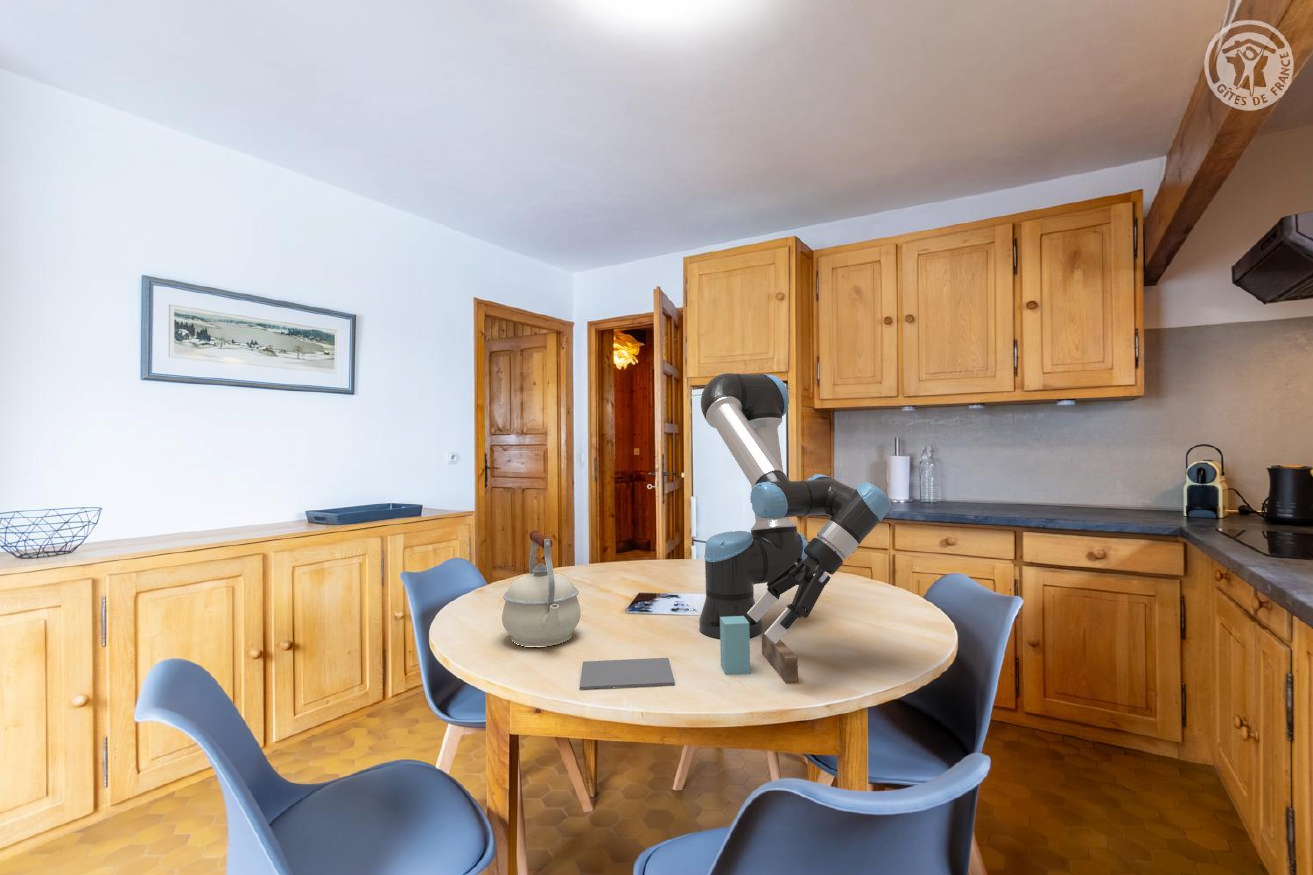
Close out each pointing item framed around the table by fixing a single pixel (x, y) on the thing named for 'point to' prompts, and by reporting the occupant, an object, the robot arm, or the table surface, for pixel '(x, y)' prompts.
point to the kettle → (541, 602)
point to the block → (735, 645)
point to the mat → (626, 673)
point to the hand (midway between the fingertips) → (760, 627)
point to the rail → (781, 659)
